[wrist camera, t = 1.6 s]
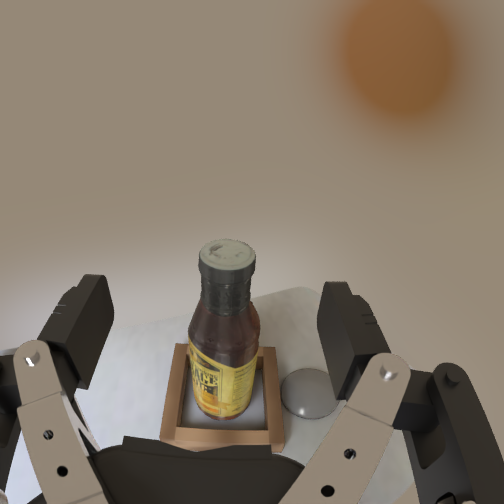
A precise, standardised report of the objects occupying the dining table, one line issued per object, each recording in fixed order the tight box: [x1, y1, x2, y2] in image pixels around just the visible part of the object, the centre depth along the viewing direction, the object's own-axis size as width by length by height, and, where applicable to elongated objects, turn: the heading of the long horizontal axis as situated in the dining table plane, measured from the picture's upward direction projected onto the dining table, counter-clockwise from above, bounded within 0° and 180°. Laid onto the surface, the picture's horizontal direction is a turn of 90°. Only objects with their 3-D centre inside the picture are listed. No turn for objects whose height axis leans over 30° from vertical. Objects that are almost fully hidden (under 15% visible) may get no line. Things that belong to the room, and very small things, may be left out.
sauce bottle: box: [188, 239, 260, 420], centre depth 28 cm, size 6×6×20 cm
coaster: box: [281, 369, 339, 419], centre depth 34 cm, size 7×7×1 cm
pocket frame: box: [159, 343, 285, 453], centre depth 33 cm, size 12×13×2 cm
